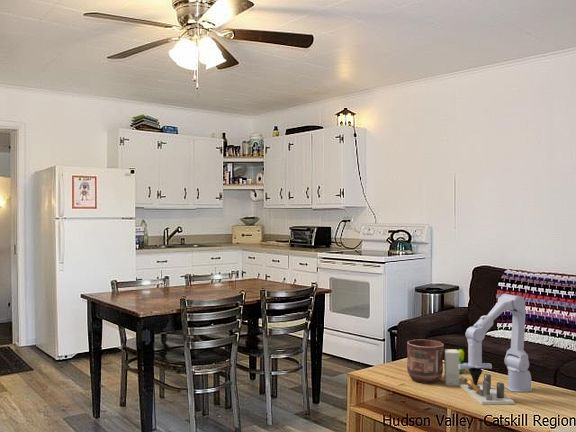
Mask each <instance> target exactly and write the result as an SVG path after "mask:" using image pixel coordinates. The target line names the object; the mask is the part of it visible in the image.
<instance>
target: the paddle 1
mask: <svg viewBox="0 0 576 432" xmlns="http://www.w3.org/2000/svg"><path fill="white" fill-rule="evenodd" d="M460 380H461V381H463V382H464V383H466V384H468V383H467V381H468V380H469V379H467V378H465V377H464V376H463V375H462V376H461V377H460ZM468 385H470V384H468ZM470 386H471V385H470ZM471 387H472V386H471ZM472 388H473V387H472Z"/></svg>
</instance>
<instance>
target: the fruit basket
mask: <svg viewBox="0 0 576 432" xmlns="http://www.w3.org/2000/svg"><path fill="white" fill-rule="evenodd" d="M457 350H458V352H459V364H464V363H465V362H464V359H465V352H464V349H462V348H459V349H457ZM464 370H465V369H459V374H464Z"/></svg>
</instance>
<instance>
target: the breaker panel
mask: <svg viewBox="0 0 576 432" xmlns="http://www.w3.org/2000/svg"><path fill="white" fill-rule="evenodd" d="M470 381H471V382H473V380H470ZM483 381H487V382H489V383H490V395H486V397H485V396H483V383H482V384H479V383H477V387H478V388H479V389H481V390H479V392H478V391H477V390H475V389H474V388H472V387H471V386H470V385H468V384H467V383H466V384H460V386H459V387H460V388H461V390H463V389H464V390H463V391H465V392H466V393H467V394H468V395H469V396H471V397H472V398H473V399H474V400H476V401H477V402H478V403H480V404H481V405H482V406H483V405H515V401H514V400H513V399H511V398H510V397H509V396H507V395H506V394H505V383H504V382H496V387H495V386H492V375H491V374H489V373H484V374H483Z"/></svg>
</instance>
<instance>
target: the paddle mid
mask: <svg viewBox="0 0 576 432" xmlns="http://www.w3.org/2000/svg"><path fill="white" fill-rule="evenodd" d="M467 380H468V381H467V383H468V384H470V385H471V386H472V387H473V388H474V389H475V390H477V391H478V392H479V390H481V389H479V388H478V387H477V386H476V385H475V384H474V383H473V382H471V381H472V380H470V379H467ZM467 383H466V384H467Z"/></svg>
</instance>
